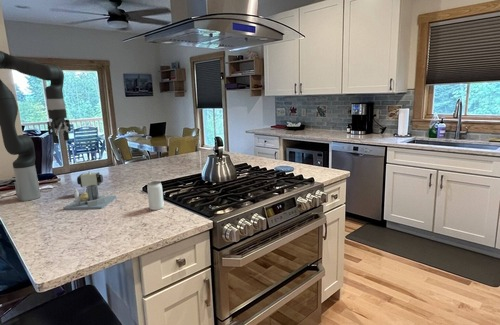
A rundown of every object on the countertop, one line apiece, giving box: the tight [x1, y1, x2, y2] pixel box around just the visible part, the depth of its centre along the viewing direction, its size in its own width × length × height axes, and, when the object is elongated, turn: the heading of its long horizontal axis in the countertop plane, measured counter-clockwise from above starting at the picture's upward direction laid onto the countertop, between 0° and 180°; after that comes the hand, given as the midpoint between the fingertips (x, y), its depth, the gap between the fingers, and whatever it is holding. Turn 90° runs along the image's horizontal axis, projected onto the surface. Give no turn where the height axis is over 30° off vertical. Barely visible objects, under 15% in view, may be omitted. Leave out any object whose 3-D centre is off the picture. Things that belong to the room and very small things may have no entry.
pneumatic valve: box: [76, 171, 104, 193], centre depth 170 cm, size 6×12×12 cm, turn 102°
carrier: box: [62, 188, 117, 211], centre depth 153 cm, size 18×16×8 cm
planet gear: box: [85, 185, 100, 204], centre depth 152 cm, size 8×8×8 cm
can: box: [146, 180, 165, 211], centre depth 144 cm, size 6×6×12 cm
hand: (61, 141), depth 155 cm, fingers open, 8 cm apart
